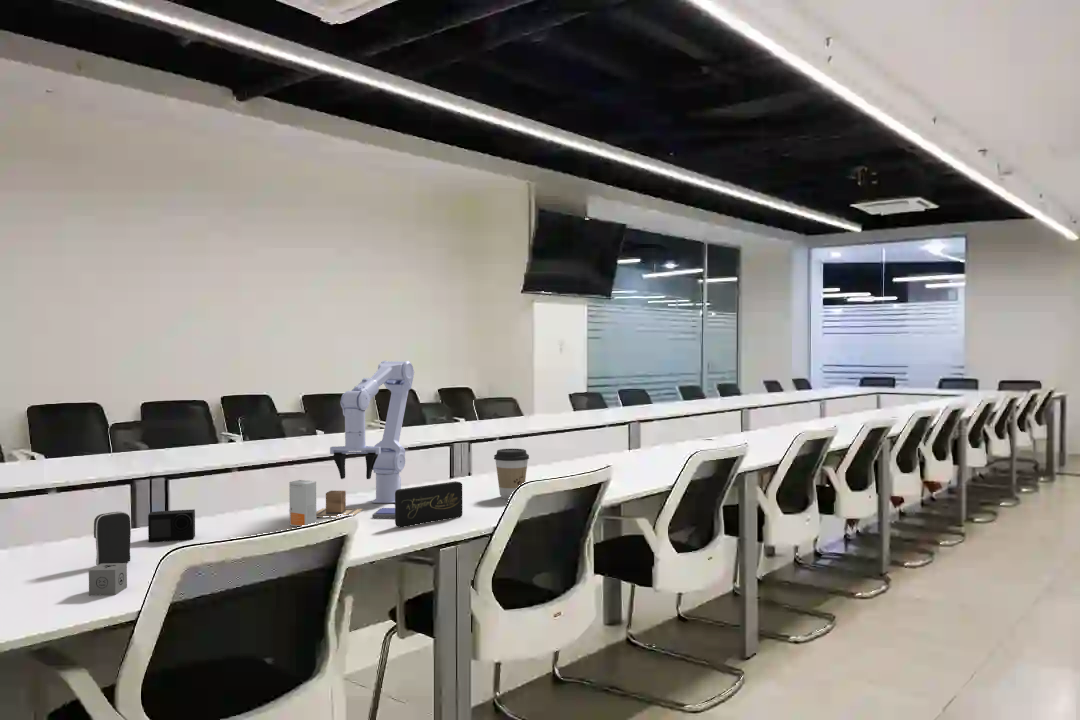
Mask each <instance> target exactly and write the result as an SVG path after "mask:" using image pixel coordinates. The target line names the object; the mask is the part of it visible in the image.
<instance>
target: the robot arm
mask: <svg viewBox="0 0 1080 720" xmlns="http://www.w3.org/2000/svg"><path fill="white" fill-rule="evenodd" d="M414 375H415V370H414V366H413V364H412V362H411V361H410V360H405V361H404V360H402V361H398V360H395V361H393V360H391V361H390V360H389V361H387V360H382V361H381V363H379V364H378V366H377V370H376V372H375V373H374V374H373V375H372V376H371V377H370V378H369V377H363V378H362V379H361V381H360V382H359V383H358V384H357V385H356V386H354V388H353V389H351V390H346V391H345V392H344V393H342V395H341V397H340V401H339V402H340V407H341V409H342V415H343V417H344V439H345V441H344V443H345V444H344V446H339V445H338V446H330V447H329V455H332V459H333V460H334V463H335V465H336V467H337V470H338V474H339V476H340V477H339V478H340V479H341V480H344V479H346V459H347V458H346V457H347V455H350V454H351V455H352V454H354V455H359V454H360V455H361V454H363V455H364V454H365V456H364V457H365V467H366V473H365V475H366V480H370V479H372V473H374V474H375V499H373V500H372V501H371V503H372V504H378V503H379V504H395V492H396V490H398V489H402V477H401V475H400V473H402V471H403V469H404V468H405V466H406V448H404V446H403V445H402V444H401V443H400V438H401V432H402V427H403V422H404V417H405V411H406V406H407V401H408V400H407V399H408V396H409V391H410V390H411V389H412V387H413V381H414ZM382 385H384V388H386V389H387V390H389V391H390V393H391V394H390V398H389V405H388V408H387V413H386V414H387V415H386V419H385V423H384V424H385V425H384V429H383V434H382V439H381V440H380V441H379V442H377V443H376V444H375V445H374V446H371V445H369V446H367V445H366V410H368V408H369V405H370V402H371V401H372V399H373V398H374V397H375V396H376V395H377V394H378V393H379V389H380V388H379V387H381V386H382Z"/></svg>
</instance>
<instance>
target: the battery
mask: <svg viewBox="0 0 1080 720" xmlns="http://www.w3.org/2000/svg"><path fill="white" fill-rule="evenodd" d="M131 527H132V526H131V518H130V515H129V513H127V512H125V511H113V512H104V513H101V514H98V515H97V516H95V518H94V520H93V538H94V539H95V548H96V559H95V561H96V562H95V564H96V565H95V566H98V565H99V564H103V563H129V562H130V561H131Z"/></svg>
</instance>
